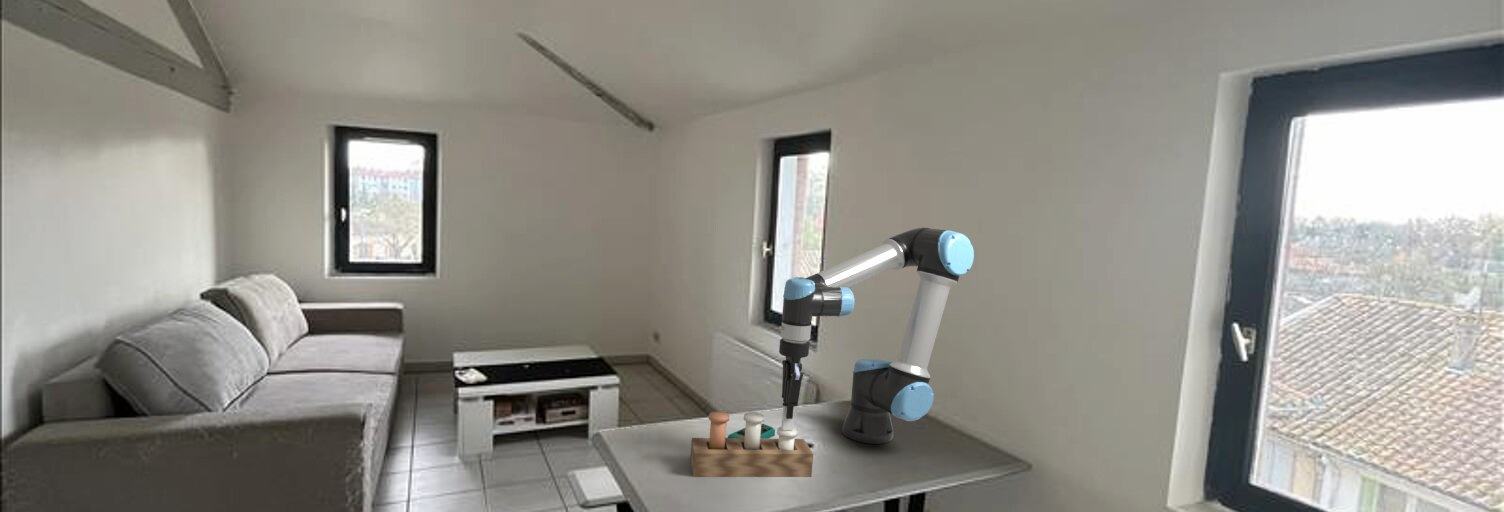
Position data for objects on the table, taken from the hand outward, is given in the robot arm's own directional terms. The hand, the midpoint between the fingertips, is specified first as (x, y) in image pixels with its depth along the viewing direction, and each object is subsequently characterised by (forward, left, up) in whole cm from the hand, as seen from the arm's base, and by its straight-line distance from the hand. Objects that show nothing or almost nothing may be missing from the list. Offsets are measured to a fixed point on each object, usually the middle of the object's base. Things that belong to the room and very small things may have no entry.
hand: (787, 429), depth 175 cm
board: (+9, 0, -11) cm, 14 cm away
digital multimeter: (+5, -20, -11) cm, 24 cm away
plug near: (0, 0, -9) cm, 9 cm away
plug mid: (+9, 0, -6) cm, 11 cm away
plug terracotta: (+18, 0, -6) cm, 19 cm away
